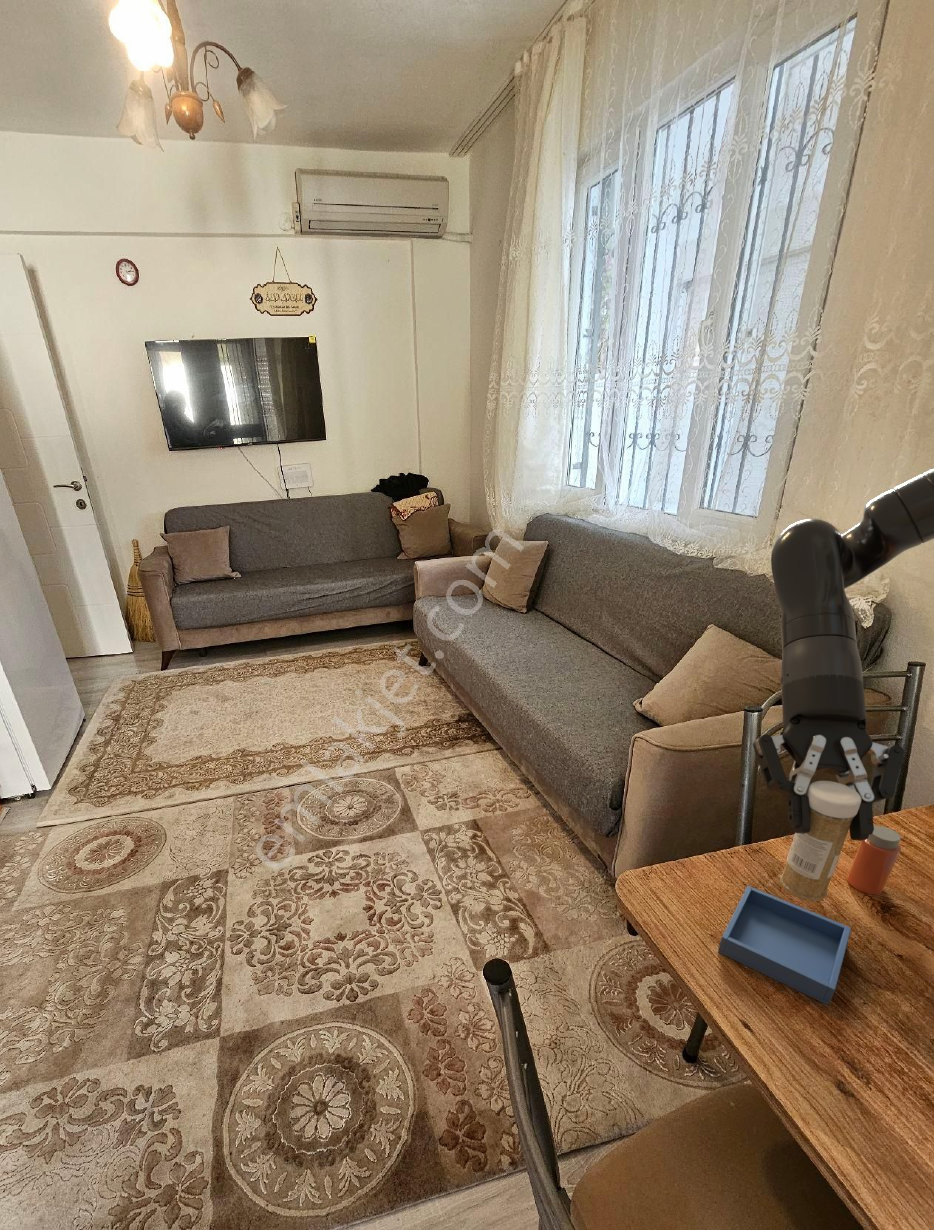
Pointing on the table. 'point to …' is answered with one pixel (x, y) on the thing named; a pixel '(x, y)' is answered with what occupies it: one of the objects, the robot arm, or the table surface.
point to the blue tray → (786, 943)
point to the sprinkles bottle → (820, 840)
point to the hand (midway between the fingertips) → (830, 835)
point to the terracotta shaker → (874, 860)
